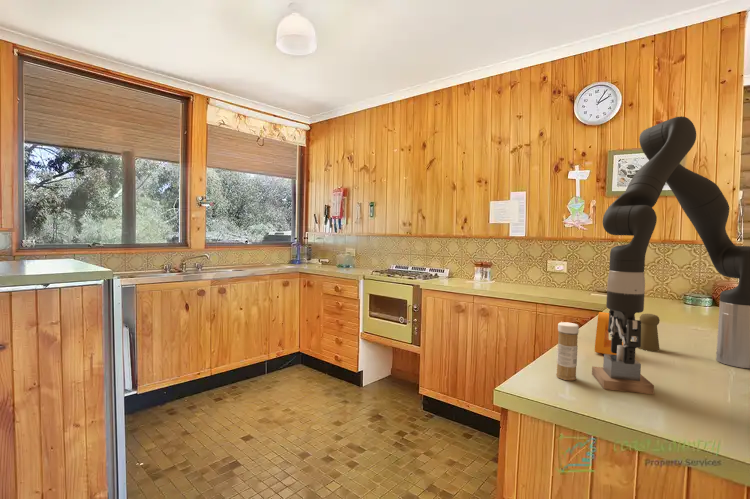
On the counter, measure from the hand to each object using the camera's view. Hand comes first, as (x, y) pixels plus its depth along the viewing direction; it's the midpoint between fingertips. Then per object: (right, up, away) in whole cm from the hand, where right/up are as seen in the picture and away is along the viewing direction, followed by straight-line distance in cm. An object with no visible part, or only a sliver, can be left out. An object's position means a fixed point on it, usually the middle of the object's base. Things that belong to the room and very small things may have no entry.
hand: (622, 358), depth 95 cm
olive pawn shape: (+28, -6, +31) cm, 42 cm away
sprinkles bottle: (-12, -6, +3) cm, 14 cm away
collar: (0, -4, 0) cm, 4 cm away
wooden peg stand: (0, -6, 0) cm, 6 cm away
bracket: (+13, -6, +26) cm, 29 cm away
